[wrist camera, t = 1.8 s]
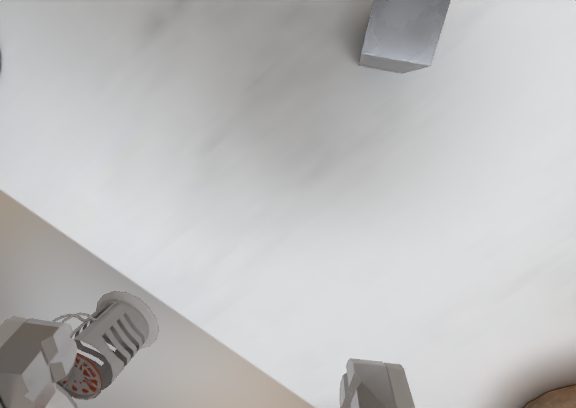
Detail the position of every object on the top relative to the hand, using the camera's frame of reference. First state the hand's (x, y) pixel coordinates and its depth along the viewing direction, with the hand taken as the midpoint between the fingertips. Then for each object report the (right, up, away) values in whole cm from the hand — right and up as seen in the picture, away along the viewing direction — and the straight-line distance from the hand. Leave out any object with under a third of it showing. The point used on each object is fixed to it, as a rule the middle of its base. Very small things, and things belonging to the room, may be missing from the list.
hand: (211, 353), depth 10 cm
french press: (-21, -11, +37) cm, 44 cm away
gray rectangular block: (+11, +19, +20) cm, 29 cm away
